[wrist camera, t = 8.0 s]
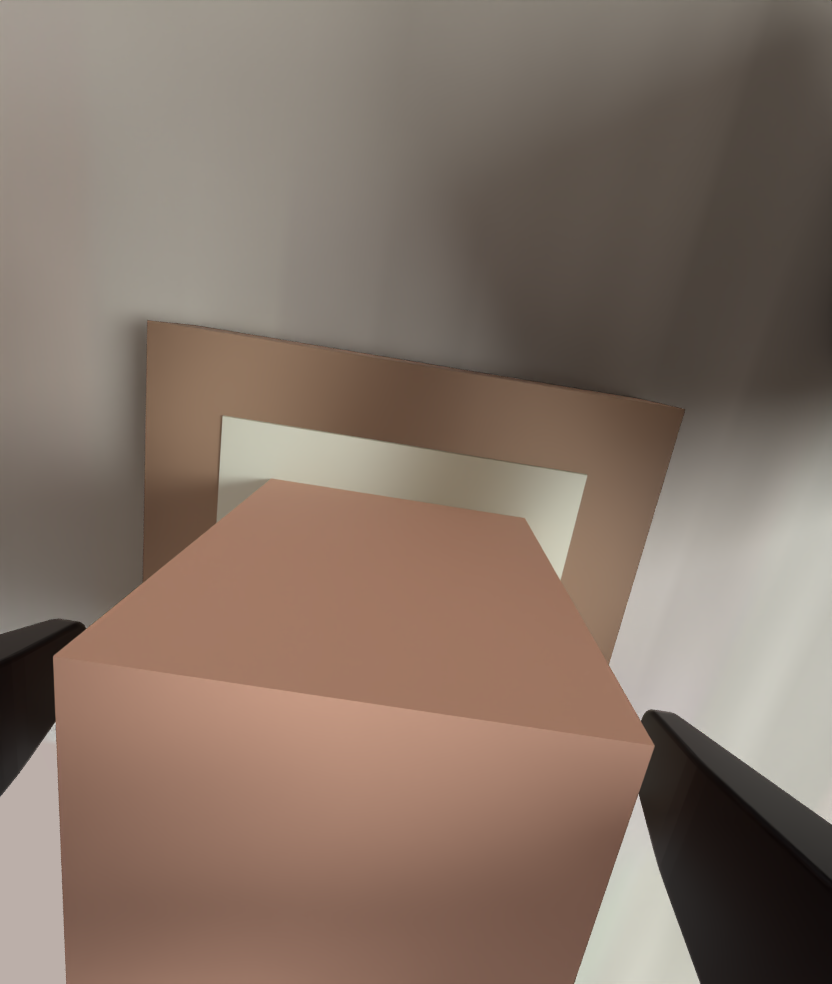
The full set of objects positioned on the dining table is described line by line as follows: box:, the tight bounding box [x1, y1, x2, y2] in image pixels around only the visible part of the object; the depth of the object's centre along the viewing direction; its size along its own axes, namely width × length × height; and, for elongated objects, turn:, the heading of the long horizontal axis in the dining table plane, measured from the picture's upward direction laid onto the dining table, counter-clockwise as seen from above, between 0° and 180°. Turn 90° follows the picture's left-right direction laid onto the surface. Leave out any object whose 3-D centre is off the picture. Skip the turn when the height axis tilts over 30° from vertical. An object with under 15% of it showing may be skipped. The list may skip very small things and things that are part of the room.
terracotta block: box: [53, 478, 655, 984], centre depth 8 cm, size 5×5×6 cm
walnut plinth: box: [143, 320, 685, 665], centre depth 12 cm, size 10×10×2 cm
